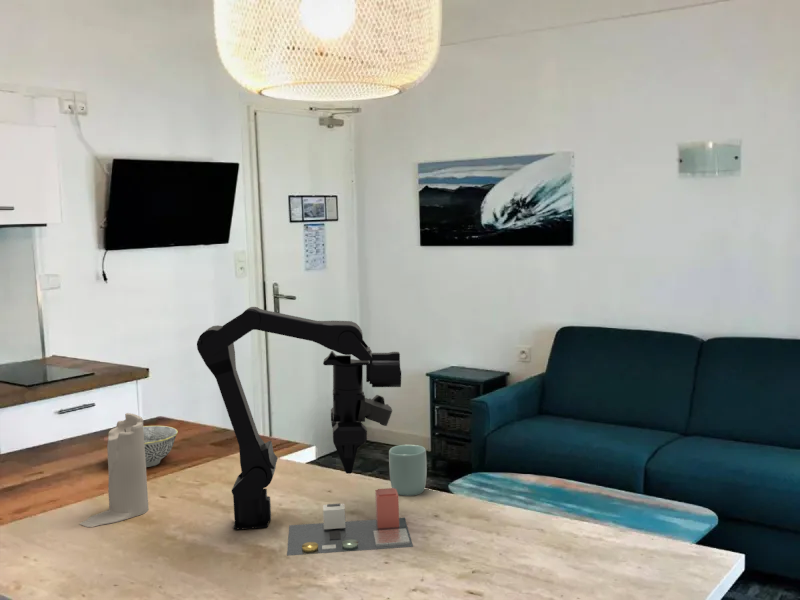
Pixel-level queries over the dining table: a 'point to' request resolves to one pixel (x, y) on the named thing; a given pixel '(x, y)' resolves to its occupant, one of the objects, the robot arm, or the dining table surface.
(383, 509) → the cap
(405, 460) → the cup
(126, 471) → the grey tall curved piece
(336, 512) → the block
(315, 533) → the panel
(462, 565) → the dining table surface
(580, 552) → the dining table surface
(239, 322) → the robot arm
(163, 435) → the bowl
